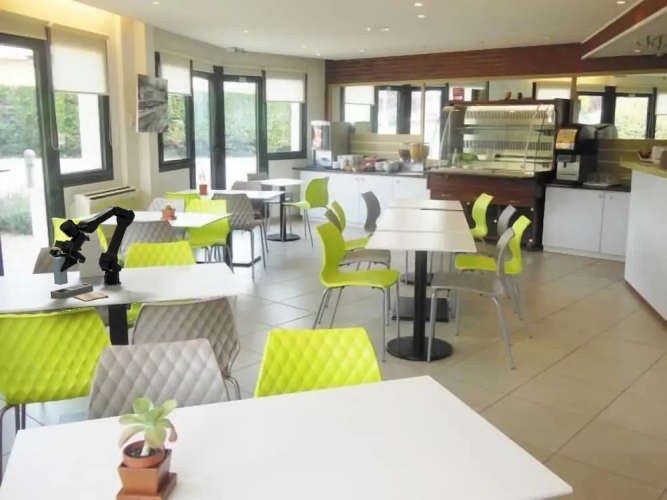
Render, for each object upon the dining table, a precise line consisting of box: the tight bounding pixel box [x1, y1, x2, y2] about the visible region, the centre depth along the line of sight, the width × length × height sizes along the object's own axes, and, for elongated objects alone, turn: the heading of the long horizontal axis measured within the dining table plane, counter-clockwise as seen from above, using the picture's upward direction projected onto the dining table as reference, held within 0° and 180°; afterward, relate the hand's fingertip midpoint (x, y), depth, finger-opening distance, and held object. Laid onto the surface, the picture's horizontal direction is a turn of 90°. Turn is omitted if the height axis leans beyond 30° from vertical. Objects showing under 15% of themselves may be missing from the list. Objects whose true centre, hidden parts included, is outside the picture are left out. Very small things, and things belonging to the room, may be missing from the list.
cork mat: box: [72, 291, 109, 303], centre depth 292 cm, size 11×11×1 cm
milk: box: [78, 229, 105, 279], centre depth 337 cm, size 12×12×26 cm
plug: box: [52, 257, 69, 286], centre depth 291 cm, size 4×4×12 cm
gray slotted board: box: [50, 282, 94, 300], centre depth 298 cm, size 18×7×4 cm, turn 151°
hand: (57, 271), depth 290 cm, fingers closed on plug, 4 cm apart
